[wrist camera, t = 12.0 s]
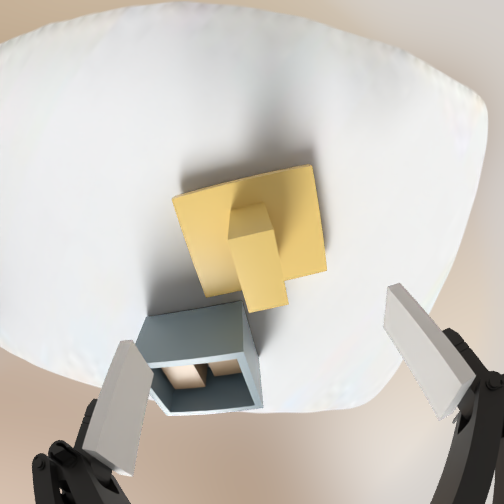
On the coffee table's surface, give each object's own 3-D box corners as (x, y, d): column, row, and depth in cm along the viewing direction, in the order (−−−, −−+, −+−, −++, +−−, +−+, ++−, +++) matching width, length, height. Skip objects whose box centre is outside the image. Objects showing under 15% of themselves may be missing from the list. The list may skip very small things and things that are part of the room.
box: (175, 370, 35) (166, 415, 28) (146, 316, 31) (127, 364, 24) (258, 359, 34) (263, 407, 27) (241, 300, 30) (243, 351, 23)
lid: (207, 286, 30) (198, 344, 21) (176, 193, 25) (147, 225, 17) (321, 260, 29) (350, 312, 21) (306, 162, 24) (339, 179, 16)
